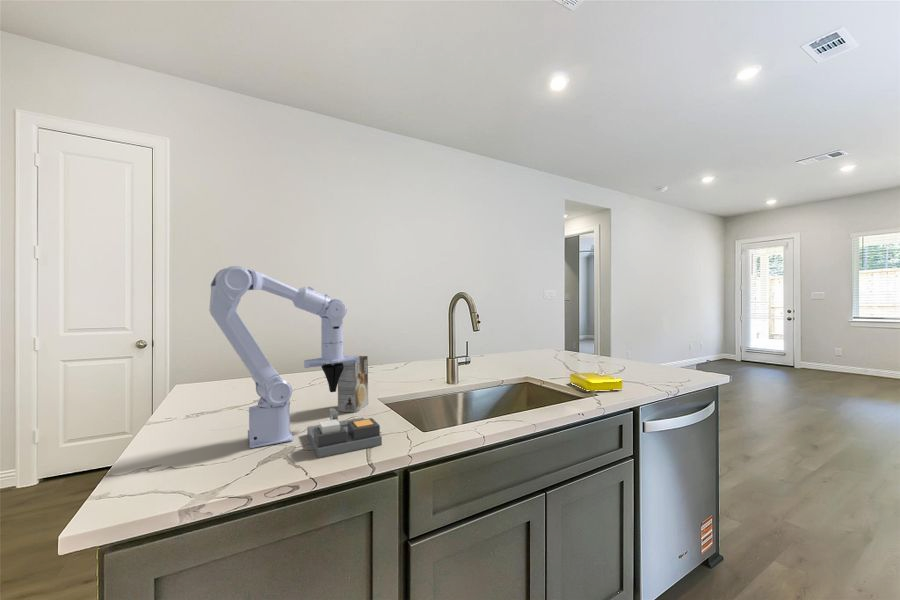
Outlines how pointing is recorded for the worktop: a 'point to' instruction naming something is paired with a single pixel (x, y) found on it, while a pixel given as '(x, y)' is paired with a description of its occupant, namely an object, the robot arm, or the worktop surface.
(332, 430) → the grey button
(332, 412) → the paddle
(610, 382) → the element tile
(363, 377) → the coffee box
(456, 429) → the worktop surface
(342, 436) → the panel
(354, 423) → the orange button
